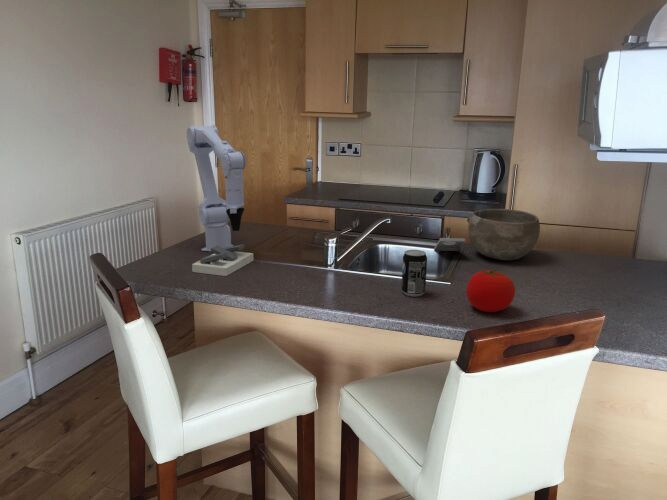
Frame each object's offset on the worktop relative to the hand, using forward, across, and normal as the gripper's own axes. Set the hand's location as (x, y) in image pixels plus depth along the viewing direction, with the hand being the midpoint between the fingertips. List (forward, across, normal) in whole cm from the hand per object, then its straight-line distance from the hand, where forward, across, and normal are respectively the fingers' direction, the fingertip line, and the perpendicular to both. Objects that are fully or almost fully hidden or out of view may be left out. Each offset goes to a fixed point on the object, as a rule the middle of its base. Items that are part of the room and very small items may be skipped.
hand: (236, 230), depth 182 cm
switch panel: (+10, +6, -4) cm, 13 cm away
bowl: (+11, +1, +91) cm, 92 cm away
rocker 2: (+7, +6, -4) cm, 10 cm away
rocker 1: (+7, +11, -6) cm, 14 cm away
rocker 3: (+7, +1, -2) cm, 7 cm away
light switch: (+11, -2, +73) cm, 74 cm away
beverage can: (+11, +36, +52) cm, 64 cm away
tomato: (+11, +49, +69) cm, 85 cm away
